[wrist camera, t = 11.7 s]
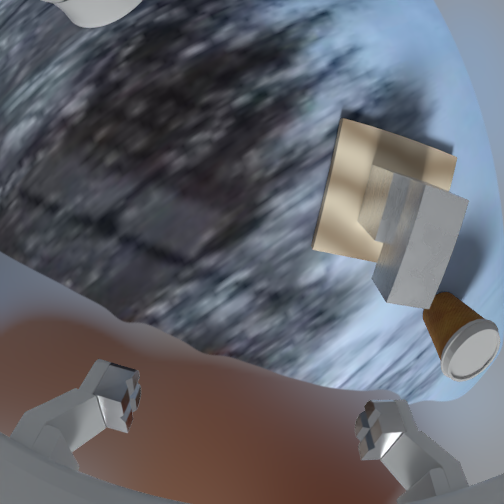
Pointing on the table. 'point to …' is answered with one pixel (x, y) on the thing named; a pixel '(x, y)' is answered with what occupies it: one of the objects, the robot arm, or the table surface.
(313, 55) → the table surface
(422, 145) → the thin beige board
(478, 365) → the disposable coffee cup
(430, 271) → the grey stepped block
